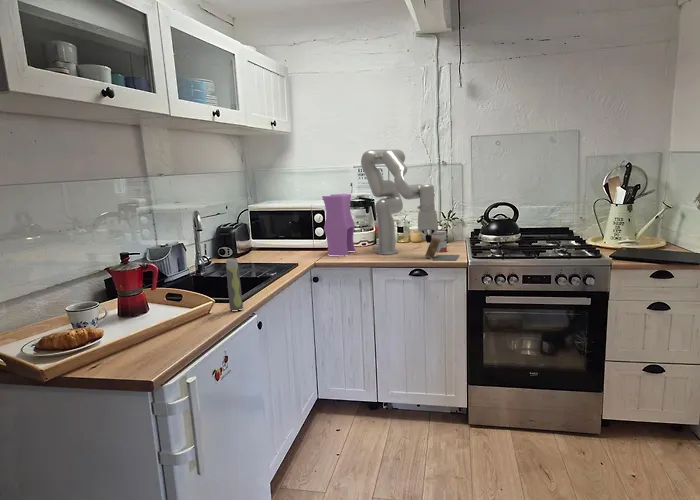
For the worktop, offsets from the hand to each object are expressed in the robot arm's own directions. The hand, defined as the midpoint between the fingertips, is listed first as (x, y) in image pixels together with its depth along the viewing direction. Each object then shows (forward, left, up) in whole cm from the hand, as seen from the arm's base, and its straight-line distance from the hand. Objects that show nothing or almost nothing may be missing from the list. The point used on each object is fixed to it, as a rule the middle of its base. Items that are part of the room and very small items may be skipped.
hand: (428, 242), depth 255 cm
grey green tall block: (-53, -103, -9) cm, 117 cm away
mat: (+9, 0, -8) cm, 12 cm away
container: (-54, +9, -9) cm, 55 cm away
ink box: (+2, +19, -9) cm, 21 cm away
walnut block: (0, 0, -8) cm, 8 cm away
